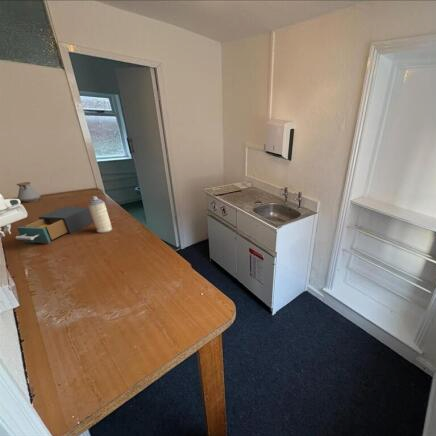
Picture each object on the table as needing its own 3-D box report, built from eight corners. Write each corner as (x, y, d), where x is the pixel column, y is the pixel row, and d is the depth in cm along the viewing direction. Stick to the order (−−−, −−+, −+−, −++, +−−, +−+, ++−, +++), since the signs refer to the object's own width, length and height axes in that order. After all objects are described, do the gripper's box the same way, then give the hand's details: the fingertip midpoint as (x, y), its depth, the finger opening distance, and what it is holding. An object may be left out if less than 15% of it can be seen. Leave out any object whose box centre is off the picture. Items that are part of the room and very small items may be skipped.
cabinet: (70, 234, 125) (64, 218, 121) (45, 233, 125) (38, 216, 121) (93, 222, 140) (88, 207, 136) (70, 221, 139) (65, 206, 136)
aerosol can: (108, 227, 135) (98, 194, 127) (115, 229, 132) (105, 196, 124) (94, 231, 129) (83, 197, 121) (101, 234, 126) (90, 199, 119)
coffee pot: (19, 200, 167) (10, 179, 161) (41, 197, 175) (33, 177, 169) (19, 208, 154) (10, 186, 149) (44, 204, 162) (35, 183, 156)
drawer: (40, 247, 111) (33, 232, 107) (13, 246, 110) (6, 231, 107) (74, 230, 128) (69, 217, 125) (51, 229, 128) (46, 216, 125)
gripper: (-35, 215, 87) (-16, 247, 92) (23, 198, 105) (36, 225, 111) (-52, 215, 87) (-32, 247, 92) (9, 197, 105) (22, 225, 111)
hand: (5, 235), depth 102 cm, fingers closed
